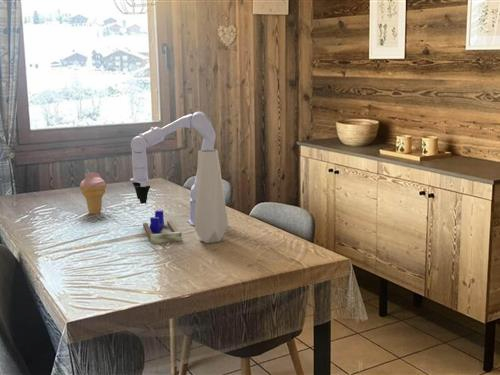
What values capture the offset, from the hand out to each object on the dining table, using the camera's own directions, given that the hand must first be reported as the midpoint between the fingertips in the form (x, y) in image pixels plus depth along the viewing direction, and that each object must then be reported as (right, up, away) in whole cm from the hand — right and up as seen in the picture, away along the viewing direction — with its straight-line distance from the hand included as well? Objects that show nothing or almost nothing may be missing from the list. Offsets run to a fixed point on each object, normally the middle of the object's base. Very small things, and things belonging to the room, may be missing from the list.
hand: (141, 201), depth 240 cm
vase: (+29, -14, -19) cm, 37 cm away
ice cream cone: (-24, -6, +21) cm, 32 cm away
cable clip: (+6, -11, -4) cm, 13 cm away
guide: (+9, -12, -10) cm, 18 cm away
